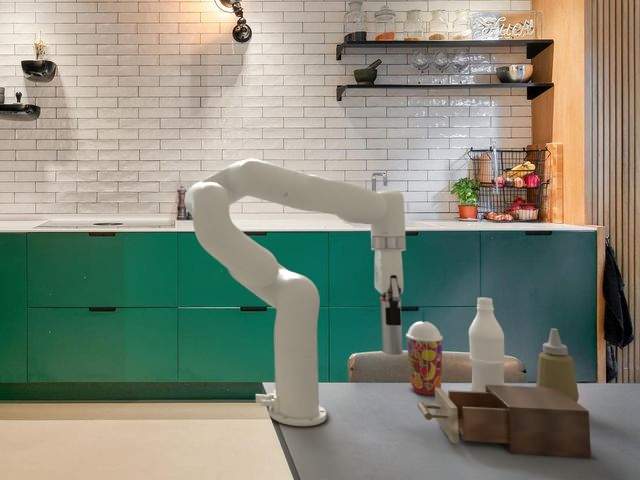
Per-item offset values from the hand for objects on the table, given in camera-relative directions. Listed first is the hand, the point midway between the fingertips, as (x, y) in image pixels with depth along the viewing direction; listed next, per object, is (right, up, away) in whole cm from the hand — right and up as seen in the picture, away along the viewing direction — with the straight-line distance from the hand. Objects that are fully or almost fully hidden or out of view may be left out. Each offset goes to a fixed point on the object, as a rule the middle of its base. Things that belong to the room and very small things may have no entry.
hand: (391, 321), depth 131 cm
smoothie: (+12, -20, +9) cm, 25 cm away
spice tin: (0, -7, 0) cm, 7 cm away
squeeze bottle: (+36, -19, -4) cm, 41 cm away
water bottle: (+21, -19, -3) cm, 29 cm away
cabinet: (+21, -19, -19) cm, 34 cm away
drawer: (+9, -18, -17) cm, 26 cm away
